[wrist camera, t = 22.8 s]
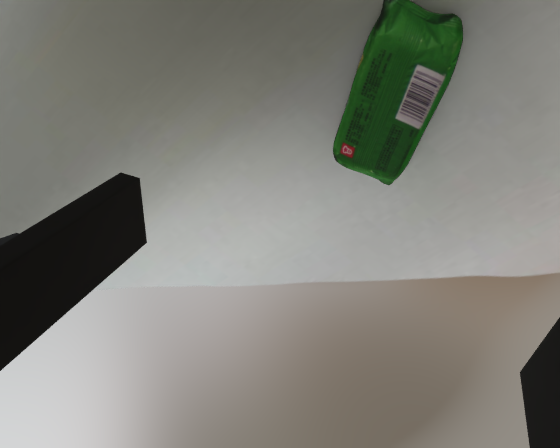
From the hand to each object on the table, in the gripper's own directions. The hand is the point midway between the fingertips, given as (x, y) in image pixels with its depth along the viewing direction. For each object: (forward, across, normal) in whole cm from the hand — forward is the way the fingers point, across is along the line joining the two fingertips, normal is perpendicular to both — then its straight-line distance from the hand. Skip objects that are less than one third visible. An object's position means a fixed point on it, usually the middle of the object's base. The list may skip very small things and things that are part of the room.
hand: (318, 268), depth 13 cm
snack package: (+29, -1, -2) cm, 29 cm away
